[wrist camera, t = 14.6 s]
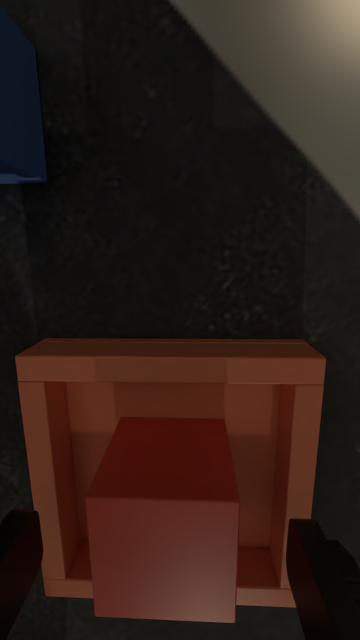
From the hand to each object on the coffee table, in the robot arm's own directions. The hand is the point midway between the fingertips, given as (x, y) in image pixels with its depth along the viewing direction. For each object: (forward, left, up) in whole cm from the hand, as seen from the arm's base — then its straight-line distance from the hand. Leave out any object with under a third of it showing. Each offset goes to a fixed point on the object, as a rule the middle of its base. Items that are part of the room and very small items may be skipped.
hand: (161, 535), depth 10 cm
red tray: (0, 0, -5) cm, 5 cm away
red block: (0, 0, -4) cm, 4 cm away
